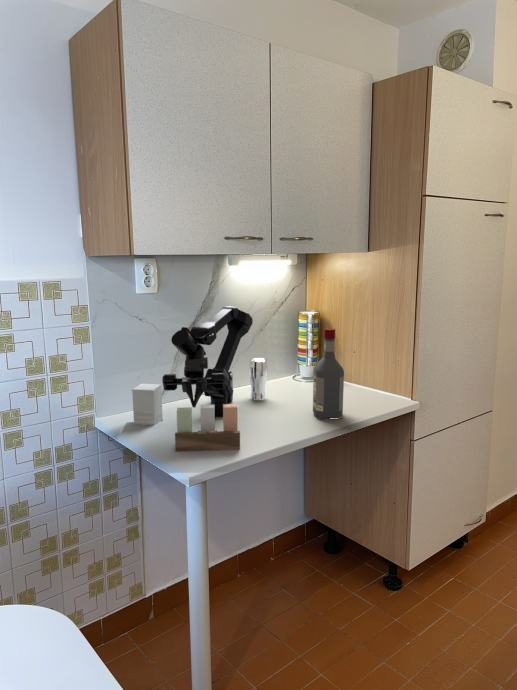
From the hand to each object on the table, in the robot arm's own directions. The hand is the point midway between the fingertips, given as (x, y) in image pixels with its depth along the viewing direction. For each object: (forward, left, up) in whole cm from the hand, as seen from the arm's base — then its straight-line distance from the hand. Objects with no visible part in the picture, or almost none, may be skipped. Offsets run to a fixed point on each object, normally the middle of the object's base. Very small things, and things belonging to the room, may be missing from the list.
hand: (193, 406), depth 159 cm
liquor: (-20, +45, -11) cm, 50 cm away
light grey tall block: (+5, +4, -9) cm, 11 cm away
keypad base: (+7, +4, -10) cm, 13 cm away
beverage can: (-39, +10, -11) cm, 41 cm away
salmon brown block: (+5, +11, -9) cm, 15 cm away
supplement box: (-16, -15, -11) cm, 25 cm away
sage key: (+7, -2, -9) cm, 12 cm away
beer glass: (-42, +23, -11) cm, 49 cm away
